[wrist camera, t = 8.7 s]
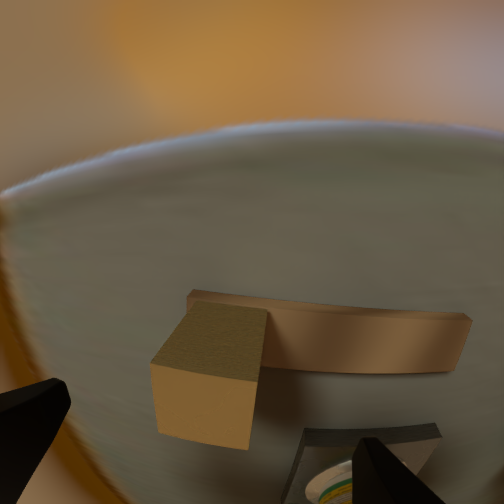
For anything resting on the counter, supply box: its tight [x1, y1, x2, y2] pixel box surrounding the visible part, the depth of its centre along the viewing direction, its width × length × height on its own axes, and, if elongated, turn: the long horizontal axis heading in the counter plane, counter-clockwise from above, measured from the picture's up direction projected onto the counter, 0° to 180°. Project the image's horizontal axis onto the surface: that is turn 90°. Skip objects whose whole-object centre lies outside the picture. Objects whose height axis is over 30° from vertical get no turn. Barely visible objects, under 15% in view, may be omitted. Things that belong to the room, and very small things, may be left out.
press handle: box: [150, 300, 268, 450], centre depth 10 cm, size 3×3×5 cm
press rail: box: [187, 289, 473, 373], centre depth 13 cm, size 14×3×1 cm, turn 85°
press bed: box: [281, 423, 442, 504], centre depth 15 cm, size 9×9×2 cm
